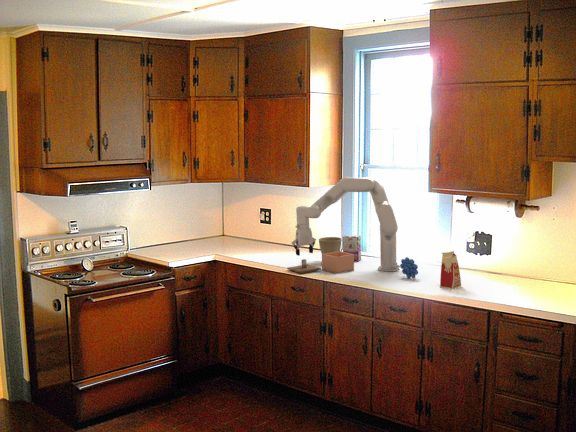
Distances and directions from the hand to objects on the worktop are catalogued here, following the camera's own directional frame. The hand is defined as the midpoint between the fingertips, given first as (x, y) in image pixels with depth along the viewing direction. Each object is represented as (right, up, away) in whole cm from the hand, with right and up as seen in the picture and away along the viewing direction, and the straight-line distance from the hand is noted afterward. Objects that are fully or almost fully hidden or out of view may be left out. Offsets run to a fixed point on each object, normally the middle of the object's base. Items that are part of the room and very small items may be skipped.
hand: (304, 254), depth 400 cm
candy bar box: (+32, -6, +29) cm, 43 cm away
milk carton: (+77, -15, -49) cm, 92 cm away
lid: (0, -11, +1) cm, 11 cm away
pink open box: (+21, -10, 0) cm, 23 cm away
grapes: (+59, -13, -26) cm, 66 cm away
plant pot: (+17, -7, +22) cm, 29 cm away
